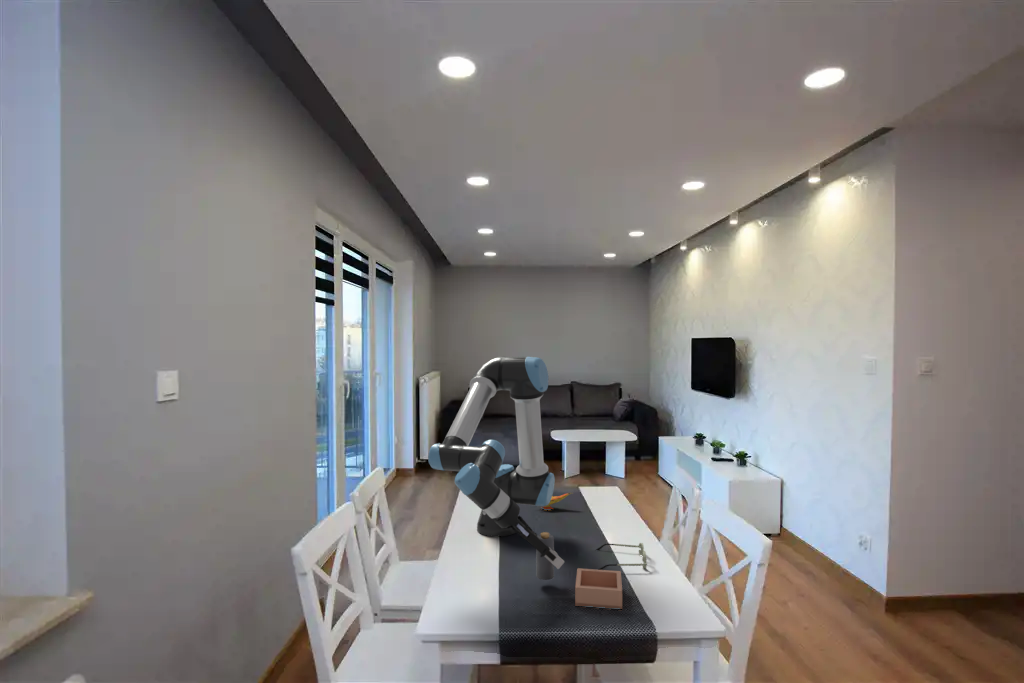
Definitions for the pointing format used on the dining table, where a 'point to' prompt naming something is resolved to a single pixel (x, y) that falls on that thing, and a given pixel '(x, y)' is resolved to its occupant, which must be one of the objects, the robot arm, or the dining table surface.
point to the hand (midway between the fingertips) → (557, 560)
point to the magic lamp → (555, 500)
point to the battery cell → (544, 559)
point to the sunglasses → (641, 552)
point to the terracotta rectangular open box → (598, 588)
